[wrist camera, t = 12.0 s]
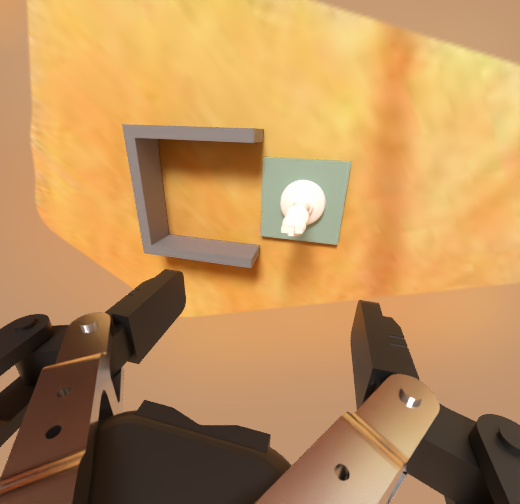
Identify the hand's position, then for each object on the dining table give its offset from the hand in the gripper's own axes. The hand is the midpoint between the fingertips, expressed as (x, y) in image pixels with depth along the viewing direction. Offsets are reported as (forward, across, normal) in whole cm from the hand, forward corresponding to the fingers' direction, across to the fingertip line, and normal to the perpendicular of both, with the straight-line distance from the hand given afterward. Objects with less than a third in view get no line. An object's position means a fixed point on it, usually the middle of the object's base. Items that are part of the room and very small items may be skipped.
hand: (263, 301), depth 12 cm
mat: (+20, 0, 0) cm, 20 cm away
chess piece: (+19, 0, 0) cm, 19 cm away
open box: (+20, +11, 0) cm, 23 cm away
